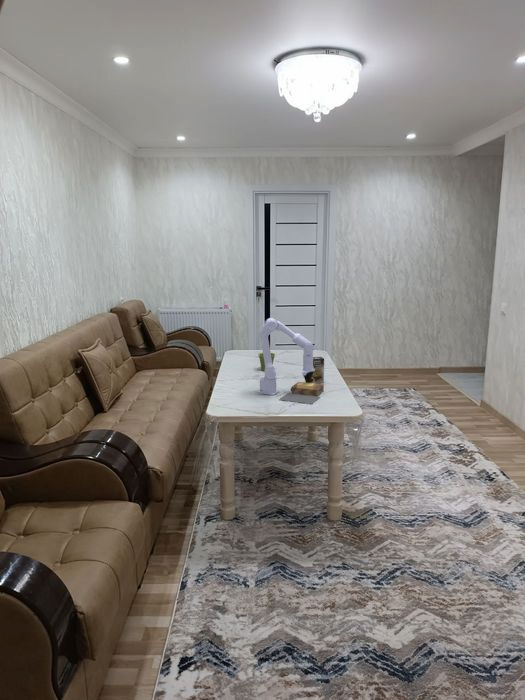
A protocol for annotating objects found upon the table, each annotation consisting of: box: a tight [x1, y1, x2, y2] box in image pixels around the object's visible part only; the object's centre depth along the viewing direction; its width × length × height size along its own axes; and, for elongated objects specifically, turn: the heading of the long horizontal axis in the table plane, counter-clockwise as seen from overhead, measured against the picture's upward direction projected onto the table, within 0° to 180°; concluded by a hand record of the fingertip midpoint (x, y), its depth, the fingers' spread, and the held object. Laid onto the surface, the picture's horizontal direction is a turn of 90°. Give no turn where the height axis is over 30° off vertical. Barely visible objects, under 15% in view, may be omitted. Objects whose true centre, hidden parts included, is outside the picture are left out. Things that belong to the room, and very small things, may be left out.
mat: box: [278, 392, 321, 405], centre depth 290 cm, size 20×14×1 cm
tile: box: [297, 381, 315, 389], centre depth 297 cm, size 9×6×2 cm, turn 66°
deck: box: [290, 381, 325, 397], centre depth 301 cm, size 16×12×4 cm
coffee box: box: [310, 356, 325, 384], centre depth 319 cm, size 9×6×16 cm
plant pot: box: [257, 352, 276, 372], centre depth 351 cm, size 12×12×11 cm
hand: (308, 384), depth 301 cm, fingers closed
